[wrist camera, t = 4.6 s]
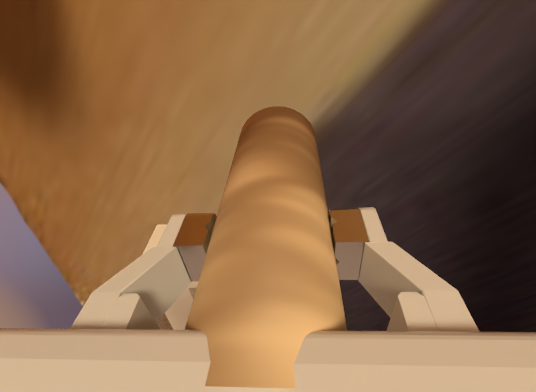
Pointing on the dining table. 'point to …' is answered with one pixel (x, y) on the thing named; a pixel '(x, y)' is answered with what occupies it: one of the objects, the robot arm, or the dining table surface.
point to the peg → (268, 257)
